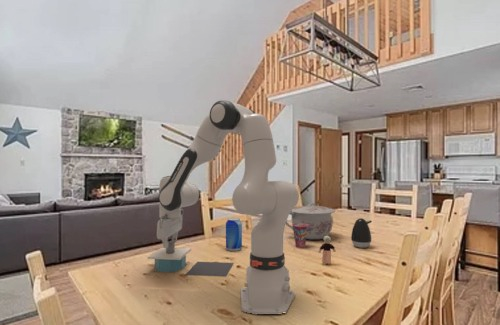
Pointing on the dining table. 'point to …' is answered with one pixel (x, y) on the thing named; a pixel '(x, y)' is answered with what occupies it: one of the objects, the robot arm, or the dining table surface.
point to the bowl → (170, 264)
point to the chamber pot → (313, 220)
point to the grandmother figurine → (326, 251)
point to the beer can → (233, 234)
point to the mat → (210, 269)
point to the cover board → (169, 256)
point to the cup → (300, 234)
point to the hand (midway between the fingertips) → (170, 244)
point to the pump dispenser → (361, 233)
